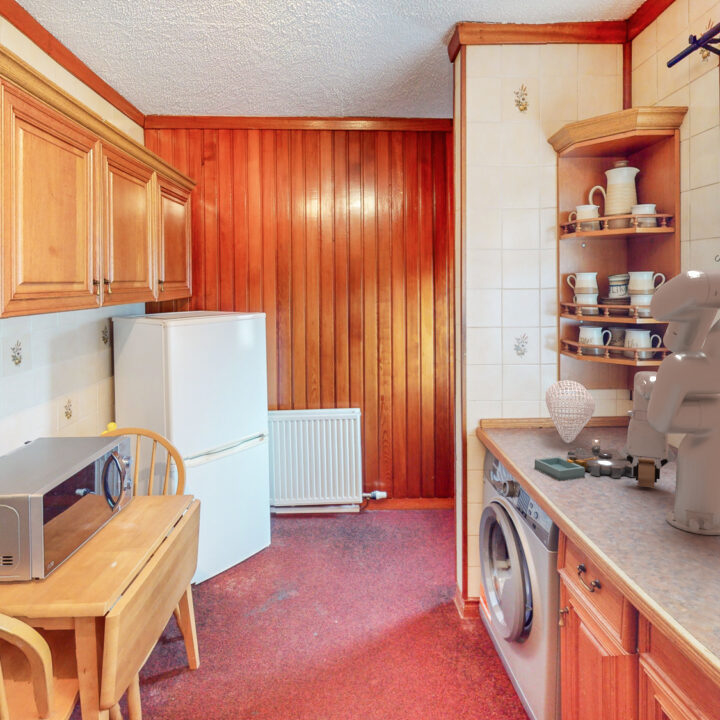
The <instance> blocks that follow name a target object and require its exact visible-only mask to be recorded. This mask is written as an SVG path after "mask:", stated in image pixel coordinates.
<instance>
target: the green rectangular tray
mask: <svg viewBox="0 0 720 720" xmlns="http://www.w3.org/2000/svg"><path fill="white" fill-rule="evenodd" d="M534 470H536V471H538V470H539V471H538V472H540V471H541V473H542V472H543V473H542V474H544V473H545V475H546V474H547V475H546V476H548V475H549V476H548V477H550V476H551V477H550V478H552V477H553V478H552V479H554V478H555V480H556V481H558V482H562V481H569V480H568V479H570V480H575V479H576V478H577V479H582V478H583V477H585V474H586V473H585V472H586V471H585V468H584V467H582V466H580V465H577V464H575V463H574V461H572V460H570V459H568V460H567V459H565V458H563V457H560V456H554V457H547V458H546V457H545V458H538V459H537V458H536V459H534ZM561 480H562V481H561Z"/></svg>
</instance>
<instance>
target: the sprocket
mask: <svg viewBox="0 0 720 720" xmlns="http://www.w3.org/2000/svg"><path fill="white" fill-rule="evenodd" d="M626 453H627V451H626ZM566 457H567V458H566V460H568V459H570V460H572V461H574V463H575V464H577V465H580V466H582V467H584V468H585V472H587V473H590V475H591V476H595V477H600V476H601V475H602V476H603V475H604V476H609V477H611V478H612V479H614V478H615V479H621V477H622V476H627V477H629V478H635V477H634V476H633V465H632V464H631V463H630V462H629V461H628V460H627V459H626V458H625V457H623V456H622V455H620V451H619V450H618V449H617V448H615V449H614V448H609V449H601V440H600V439H598V438H592V439H591V447H590V448H587V449H586V448H583V447H578V448H575V450H569V451H567V455H566ZM632 457H634V456H632ZM639 458H643V457H639ZM638 465H639V459H638Z"/></svg>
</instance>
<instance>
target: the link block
mask: <svg viewBox="0 0 720 720" xmlns="http://www.w3.org/2000/svg"><path fill="white" fill-rule="evenodd" d="M655 464H656V461H655V458H646V457H642V458H639V467H638V481H637V486H638V487H643V488H644V487H646V488H653V489H654V488H655V482H654V480H655Z"/></svg>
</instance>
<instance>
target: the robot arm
mask: <svg viewBox="0 0 720 720" xmlns="http://www.w3.org/2000/svg"><path fill="white" fill-rule="evenodd" d="M719 310H720V269H693V270H686V271H683V272H681V273H678V275H676V276H674V277H673V278H671V279H669V280H667V281H665V283H663V284H662V285H660V286H658V289H656V290H655V292H654V293H653V295H652V297H651V299H650V302H649V313H650V315H651V317H652V318H653V319H654V320H655V321H658V322H661V323H662V322H664V323H665V322H666V323H668V322H669V323H668V325H667V328H666V331H665V333H664V335H663V338H662V339H663V340H662V342H663V345H664V347H665V348H666V349H667V350H669V352H672V353H670V354H668V355H667V356H665V357H664V358H663V360H662V361H661V362H660V364H659V366H658V369H657V371H651V370H649V371H648V370H647V371H646V370H645V371H638V372H636V373H635V374H634V379H633V403H632V404H633V406H632V408H633V409H631V410H627V416H631V417H632V418H630V420H629V424H628V427H627V428H628V429H627V438H626V439H627V440H626V443H625V444H624V445H623V447H622V448H621V449H620V451H619V452H620V455H622V456H623V457H625V458H626V459H627V460H628V461H629V462H630V463H631V464H632V465H633V476H634V477H633V478H635V481H637V482H638V467H639V465H638V459H639V457H642V458H647V459H654V460H655V480H654V484H656V483H658V480H660V479H661V469H662V467H664V466H665V465H667V464H668V463H670V462H672V461H675V460H676V472H675V487H674V488H675V490H674V491H675V492H674V509H673V510H670V511H668V512H667V513H666V518H665V519H666V521H667V522H668V524H670V525H671V526H673V527H675V528H677V529H679V530H681V531H685V532H689V533H693V534H698V535H702V536H703V535H706V536H720V318H719V319H718V320H717V321H716V322H714V320H715V318H716V316H717V313H718V311H719ZM713 322H714V323H713ZM671 434H673V435H677V434H679V435H680V434H681V435H683V434H685V435H684V437H683V439H682V440H681V441H680V444H678V445H679V446H678V448H677V453H676V454H677V456H676V455H675V454H674V453H673V451H672V450H671V448H670V447H669V435H671ZM626 452H627V453H626ZM632 456H634V457H632Z"/></svg>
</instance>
